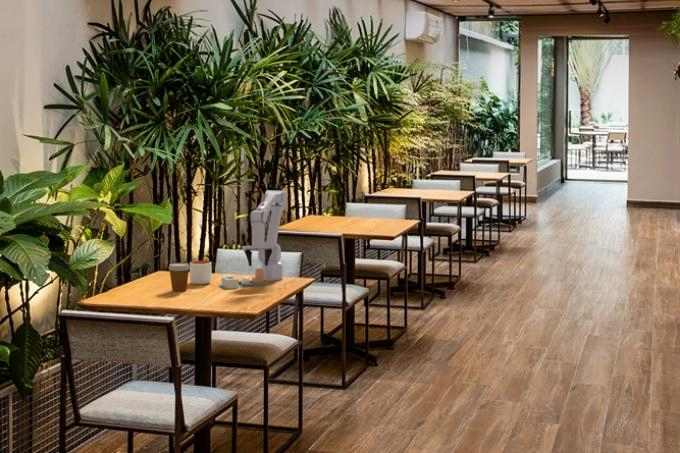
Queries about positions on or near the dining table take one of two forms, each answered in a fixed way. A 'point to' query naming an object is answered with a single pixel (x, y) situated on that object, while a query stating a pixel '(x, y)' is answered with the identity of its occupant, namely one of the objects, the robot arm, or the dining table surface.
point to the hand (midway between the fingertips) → (258, 265)
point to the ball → (245, 280)
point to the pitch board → (238, 283)
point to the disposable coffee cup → (179, 276)
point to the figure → (258, 276)
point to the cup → (200, 272)
